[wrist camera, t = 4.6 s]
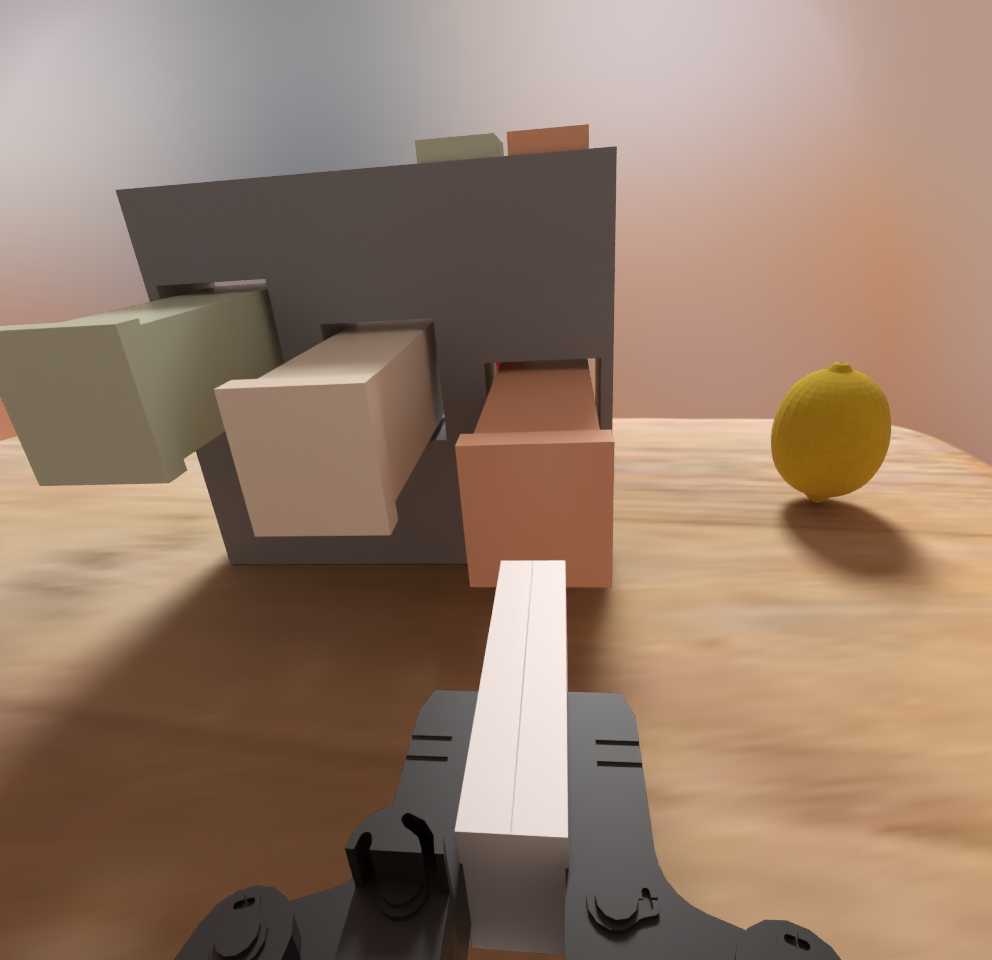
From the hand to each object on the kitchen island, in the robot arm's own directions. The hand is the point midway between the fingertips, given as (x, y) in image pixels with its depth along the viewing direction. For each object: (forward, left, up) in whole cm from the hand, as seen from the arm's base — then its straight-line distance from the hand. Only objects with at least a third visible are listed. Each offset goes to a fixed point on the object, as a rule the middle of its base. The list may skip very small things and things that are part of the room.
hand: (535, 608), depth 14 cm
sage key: (-14, +11, +2) cm, 18 cm away
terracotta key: (0, +11, -3) cm, 11 cm away
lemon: (+15, +20, -8) cm, 26 cm away
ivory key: (-7, +11, 0) cm, 13 cm away
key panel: (-7, +16, -8) cm, 19 cm away
